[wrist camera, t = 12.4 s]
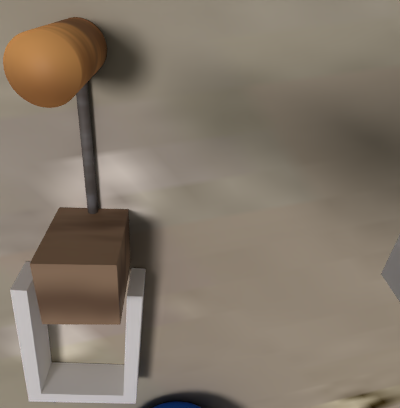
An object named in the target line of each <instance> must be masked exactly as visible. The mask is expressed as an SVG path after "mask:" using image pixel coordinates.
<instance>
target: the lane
mask: <svg viewBox="0 0 400 408" xmlns="http://www.w3.org/2000/svg"><path fill="white" fill-rule="evenodd" d="M145 271H146V269H142V268H131V274H130V281H129V287H128V293H127V311H126V339H125V365H124V364H92V363H61V362H52V361H51V352H50V342H49V333H48V324H42V321H41V316H40V311H39V307H38V302H37V297H36V292H35V287H34V282H33V278H32V273H31V268H30V262H25V264H24V265H23V267H22V269H21V271H20V273H19V275H18V276H17V278H16V280H15V282H14V284H13V286H12V287H11V289H10V292H11V298H12V304H13V310H14V316H15V322H16V328H17V333H18V339H19V345H20V351H21V357H22V363H23V369H24V375H25V381H26V387H27V393H28V398H29V401H35V402H83V403H131V404H136V395H137V385H138V375H139V361H140V346H141V331H142V316H143V301H144V286H145Z"/></svg>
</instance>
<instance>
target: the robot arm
mask: <svg viewBox="0 0 400 408" xmlns="http://www.w3.org/2000/svg"><path fill="white" fill-rule="evenodd" d="M381 274H382V276H383V277H384V279H385V280H386V282H387V283H388V285H389V286H390V288H391V289H392V291H393V292H394V294H395V295H396V297H397V299H398V300H399V302H400V235H399V237H398V239H397V242H396V244H395V246H394V248H393V250H392V252H391V254H390V256H389V258H388V260H387V263H386V265H385V267H384V269H383V271H382V273H381Z"/></svg>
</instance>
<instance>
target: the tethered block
mask: <svg viewBox="0 0 400 408" xmlns="http://www.w3.org/2000/svg"><path fill="white" fill-rule="evenodd" d="M106 56H107V45H106V41H105V38H104V36H103V34H102V32H101V31H100V30H99V28H98V27H97V26H96V25H94V24H93V23H92V22H90V21H88V20H86V19H83V18H78V17H73V18H68V19H65V20H61V21H58V22H55V23H51V24H48V25H45V26H41V27H38V28H35V29H31V30H28V31H25V32H22V33H20V34H18V35H16V36H15V37H14V38H13V39H12V40H11V41H10V42H9V43H8V45H7V47H6V49H5V52H4V58H3V65H4V71H5V74H6V77H7V79H8V81H9V83H10V85H11V86H12V88H13V89H14V90H15V91H16V93H17V94H19V95H20V96H21V97H22V98H23V99H25V100H26V101H28V102H30V103H32V104H34V105H37V106H40V107H47V108H52V107H58V106H61V105H64V104H66V103H67V102H69V101H70V100H71V99H72V98H73V97H74V96H75V95H76V96H77V106H78V116H79V126H80V136H81V147H82V157H83V167H84V177H85V187H86V197H87V207H88V208H59V209H58V211H57V213H56V215H55V217H54V219H53V221H52V222H51V224H50V226H49V228H48V230H47V232H46V234H45V236H44V238H43V240H42V241H41V243H40V245H39V247H38V249H37V251H36V253H35V255H34V257H33V258H32V260H31V262H30V268H31V273H32V278H33V282H34V287H35V292H36V297H37V302H38V307H39V311H40V316H41V321H42V324H120V322H121V316H122V310H123V304H124V298H125V292H126V286H127V280H128V274H129V268H130V236H129V209H98V203H97V191H96V179H95V167H94V155H93V143H92V131H91V119H90V107H89V95H88V83H87V82H88V81H89V80H90V79H91V77H92V76H93V75H94V74H95V73H96V72H97V71H98V70H99V69H100V68H101V67H102V65H103V64H104V62H105V59H106Z"/></svg>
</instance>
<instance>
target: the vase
mask: <svg viewBox="0 0 400 408" xmlns="http://www.w3.org/2000/svg"><path fill="white" fill-rule="evenodd" d="M153 408H202V407H200V406H197V405H195V404H192V403H188V402H177V401H174V402H166V403H163V404H159V405H157V406H155V407H153Z"/></svg>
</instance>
